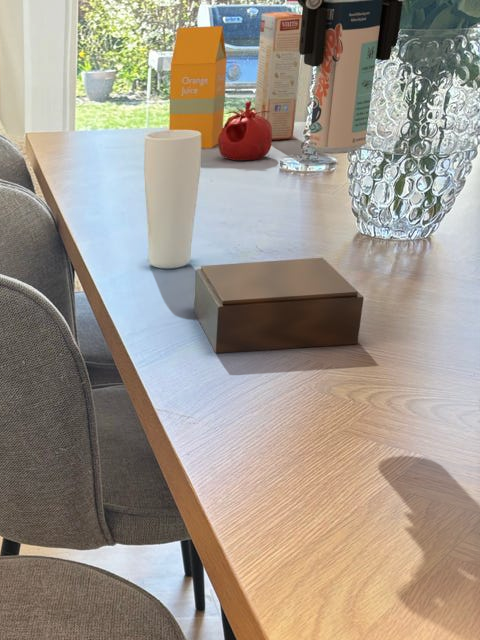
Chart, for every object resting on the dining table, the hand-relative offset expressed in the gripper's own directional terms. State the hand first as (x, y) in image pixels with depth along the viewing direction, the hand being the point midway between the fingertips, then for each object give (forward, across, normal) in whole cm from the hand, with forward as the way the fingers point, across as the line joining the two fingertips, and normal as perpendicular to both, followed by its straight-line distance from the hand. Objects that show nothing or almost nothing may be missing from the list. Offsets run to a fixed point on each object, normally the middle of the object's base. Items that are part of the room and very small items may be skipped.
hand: (346, 59), depth 81 cm
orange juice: (+26, +11, +124) cm, 127 cm away
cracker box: (+26, +27, +128) cm, 133 cm away
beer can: (+7, 0, 0) cm, 7 cm away
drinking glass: (+25, -8, +37) cm, 46 cm away
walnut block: (+25, -2, +10) cm, 27 cm away
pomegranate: (+26, +17, +106) cm, 110 cm away
